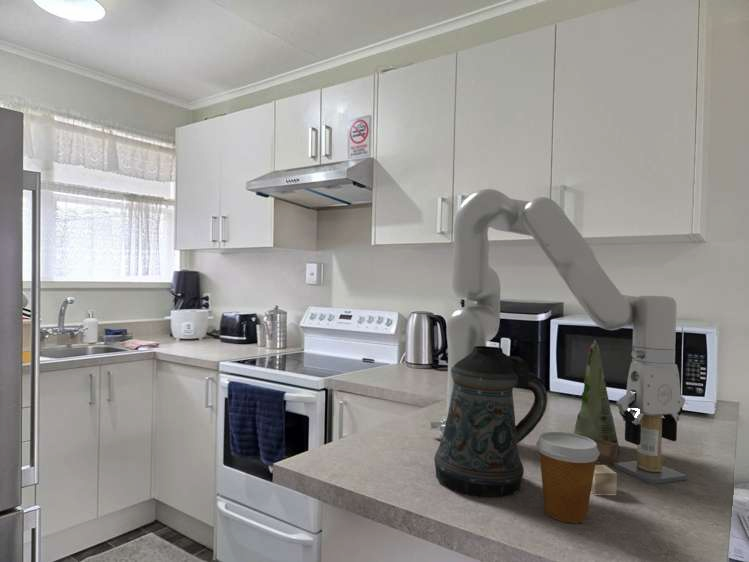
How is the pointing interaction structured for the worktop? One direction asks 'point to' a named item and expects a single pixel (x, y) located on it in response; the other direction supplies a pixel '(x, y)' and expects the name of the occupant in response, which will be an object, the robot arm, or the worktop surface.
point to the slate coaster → (651, 473)
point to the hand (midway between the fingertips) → (650, 440)
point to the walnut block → (606, 452)
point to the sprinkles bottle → (650, 444)
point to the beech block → (604, 480)
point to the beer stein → (487, 424)
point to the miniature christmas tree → (595, 403)
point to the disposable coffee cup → (567, 474)
